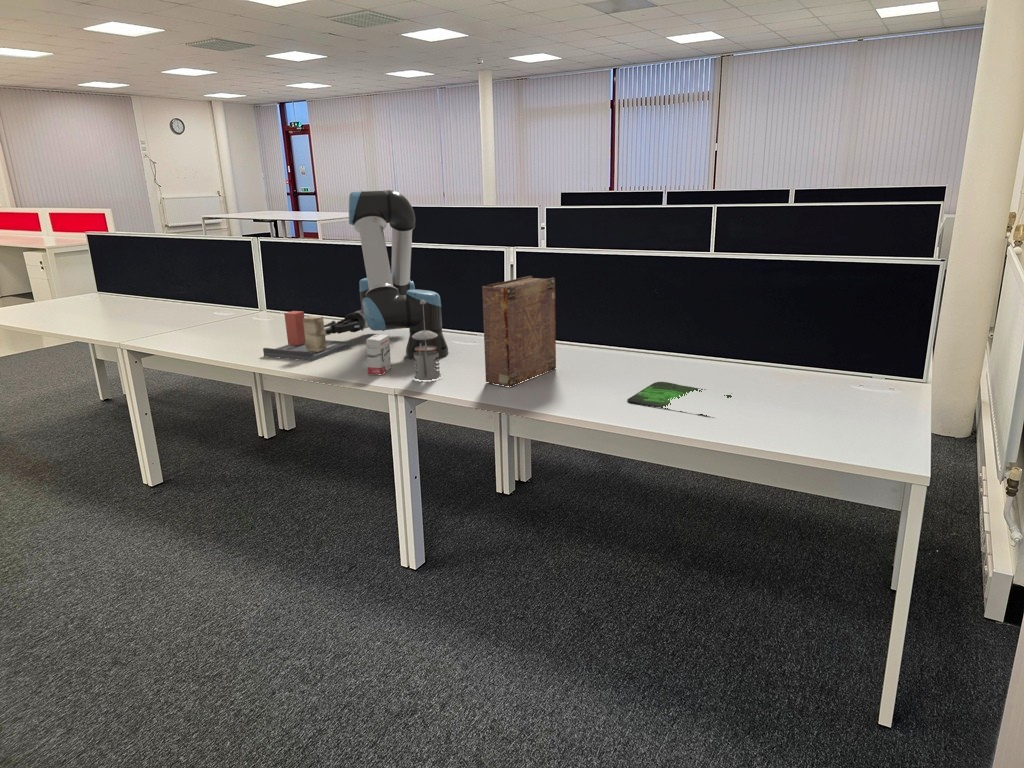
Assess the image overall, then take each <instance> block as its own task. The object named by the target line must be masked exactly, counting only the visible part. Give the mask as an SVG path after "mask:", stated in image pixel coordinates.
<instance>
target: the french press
mask: <svg viewBox="0 0 1024 768" xmlns="http://www.w3.org/2000/svg"><path fill="white" fill-rule="evenodd" d="M420 304H426V301H425V300H421V301H420ZM423 317H424V306H423ZM437 336H438V334H436V333H434V332H432V331H426V330H425V321H424V330H423V331H419V332H417V333H415V334H414V335H413V336H412V338H413V339H416V340H425V346H421V343H420V346H419V347H416V348H415V351H417V352H415V353H414V358H415V359H413V361H414V363H413V364H414V376H413V377H414V378H415V379H419V380H432V379H437V378H439V377H441V375H442V374H441V372H440V358H438V357H439V353H438V351H435V350H436V349H437V347H436V346H427V344H426V340H429V339H433V338H436V337H437ZM435 358H437V359H435Z"/></svg>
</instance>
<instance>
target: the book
mask: <svg viewBox="0 0 1024 768" xmlns="http://www.w3.org/2000/svg"><path fill="white" fill-rule="evenodd" d="M481 290H482V291H481V293H482V314H483V317H482V319H483V337H484V338H483V339H484V342H483V343H484V344H483V345H484V366H485V368H484V369H485V370H484V371H485V372H484V373H485V383H486V382H489V383H494V384H499V385H504V386H509V387H510V386H513V385H515V384H518V383H520V382H522V381H525V380H527V379H530V378H532V377H535V376H537V375H540V374H543V373H545V372H547V371H550V370H553V369H555V368H556V369H557V353H556V352H557V351H556V350H557V349H556V348H557V346H556V345H557V343H556V340H557V337H556V335H557V334H556V330H557V329H556V328H557V327H556V324H557V323H556V278H555V277H551V278H541V277H540V278H539V277H537V278H536V277H533V276H532V275H529V276H523V277H519V278H514V279H509V280H506V281H501V282H496V283H490V284H487V285H482V289H481ZM556 369H555V370H556ZM553 371H554V370H553ZM550 372H551V371H550ZM545 374H546V373H545ZM543 375H544V374H543ZM518 385H519V384H518Z"/></svg>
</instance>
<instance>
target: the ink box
mask: <svg viewBox="0 0 1024 768" xmlns="http://www.w3.org/2000/svg"><path fill="white" fill-rule="evenodd" d="M365 340H366V341H365V343H366V356H367V361H366V362H367V373H368V374H377V375H376V376H379V375H378V374H382V375H384V374H385V373H387V372H388V371H390V370H391V369H392V363H391V347H390V334H383V333H381V334H380V333H379V334H378V333H376V334H374V335H372V336H370V337H368V338H367V339H365ZM390 368H391V369H390ZM389 369H390V370H389ZM387 370H388V371H387ZM386 371H387V372H386ZM384 372H385V373H384ZM383 373H384V374H383ZM368 374H367V375H368Z"/></svg>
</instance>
